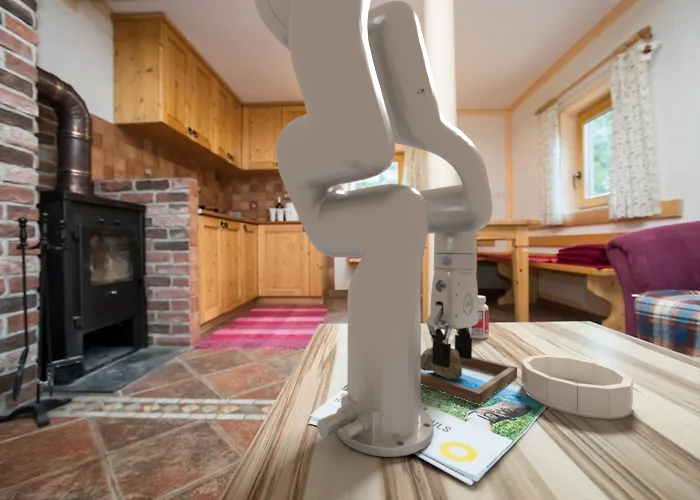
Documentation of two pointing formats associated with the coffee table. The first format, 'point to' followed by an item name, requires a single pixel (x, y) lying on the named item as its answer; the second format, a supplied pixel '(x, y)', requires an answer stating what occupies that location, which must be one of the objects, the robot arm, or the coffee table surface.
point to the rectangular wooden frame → (484, 391)
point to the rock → (448, 373)
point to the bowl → (578, 386)
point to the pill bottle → (482, 320)
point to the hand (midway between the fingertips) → (452, 360)
